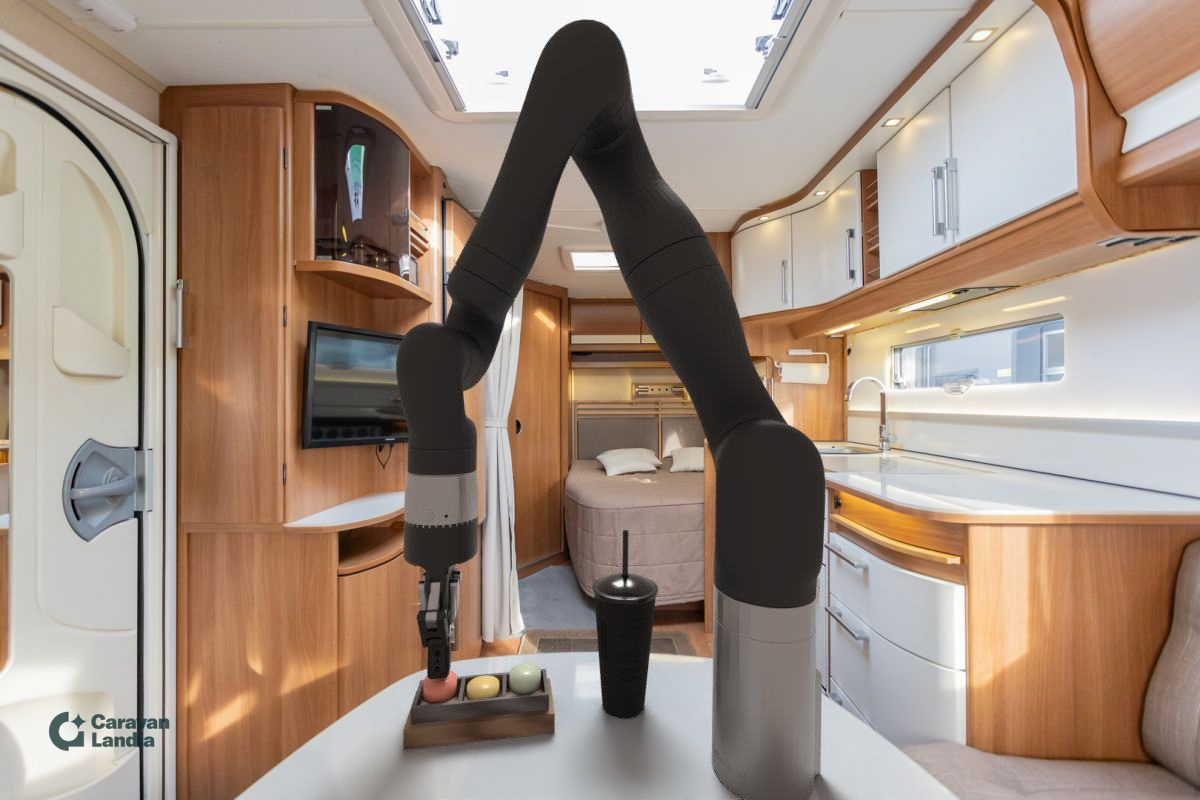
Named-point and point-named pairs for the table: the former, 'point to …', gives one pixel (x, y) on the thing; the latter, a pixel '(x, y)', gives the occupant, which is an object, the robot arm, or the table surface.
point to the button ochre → (483, 688)
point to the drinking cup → (624, 637)
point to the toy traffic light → (479, 715)
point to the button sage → (525, 679)
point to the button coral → (440, 689)
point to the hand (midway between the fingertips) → (439, 674)
